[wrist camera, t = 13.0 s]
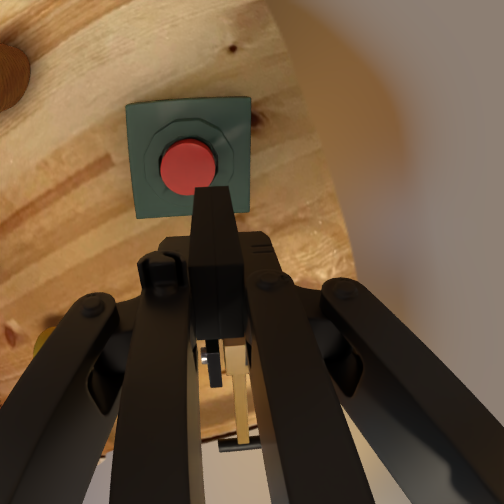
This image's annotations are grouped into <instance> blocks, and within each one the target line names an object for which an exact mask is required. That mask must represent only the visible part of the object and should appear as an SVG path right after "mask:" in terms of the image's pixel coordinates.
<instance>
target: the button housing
mask: <svg viewBox="0 0 504 504" xmlns="http://www.w3.org/2000/svg"><path fill="white" fill-rule="evenodd" d="M125 108H126V125H127V138H128V150H129V161H130V171H131V180H132V188H133V196H134V204H135V211H136V218H137V219H143V218H157V217H172V216H188V215H192V211H193V201H194V195H181V194H178V193H175V192H173V191H172V190H170V189H169V188H168V187H167V186H166V185H165V183H164V182H163V179H162V177H161V172H160V167H161V162H162V159H163V157H164V155H165V153H166V151H167V150H168V148H169V147H170V146H171V145H173V144H174V143H175V142H177V141H180V140H183V139H195V140H199V141H201V142H203V143H204V144H206V145H207V146H208V147H209V149H210V150H211V152H212V154H213V156H214V161H215V175H214V178H213V180H212V182H211V183H210V185H209V186H208V187H211V186H229V191H230V196H231V201H232V206H233V211H234V213H245V212H249V211H250V146H251V98H250V97H247V96H230V97H198V98H181V99H167V100H156V101H146V102H137V103H131V104H127V105H126V106H125Z"/></svg>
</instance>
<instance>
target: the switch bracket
mask: <svg viewBox="0 0 504 504" xmlns="http://www.w3.org/2000/svg"><path fill="white" fill-rule="evenodd" d="M205 342H206V347H203V348H201V361H202V364H208V372H209V380H210V387H211V388H216V387H222V375H221V364H220V352H219V341H218V339H211V340H205Z"/></svg>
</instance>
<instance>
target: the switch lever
mask: <svg viewBox="0 0 504 504" xmlns="http://www.w3.org/2000/svg"><path fill="white" fill-rule="evenodd" d="M223 349H224V362H225V369H226V375H227V376H229V375H232V380H233V393H234V406H235V418H236V430H237V438H228V439H218V447H219V452H231V451H242V450H252V449H260V448H262V447H261V442H260V436H249V428H248V409H247V389H246V374H249V369H248V365H247V366H245V332H244V337H242V338H228V339H223Z"/></svg>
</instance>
